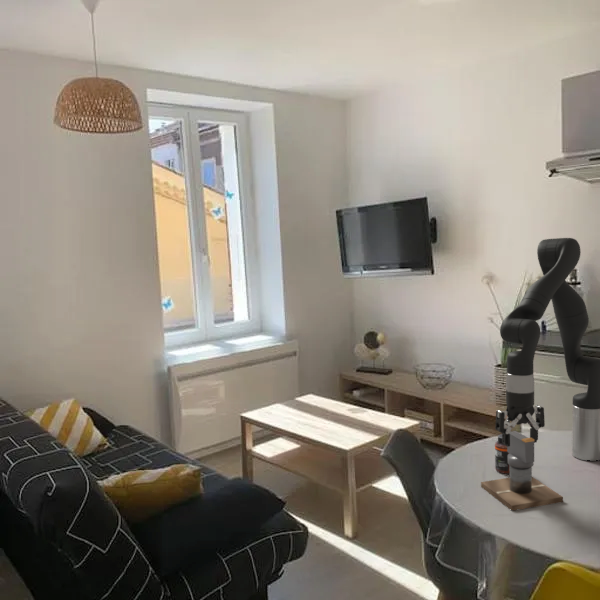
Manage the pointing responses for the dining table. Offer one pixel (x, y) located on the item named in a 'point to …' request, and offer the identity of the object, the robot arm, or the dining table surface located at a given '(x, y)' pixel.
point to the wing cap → (520, 450)
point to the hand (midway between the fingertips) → (520, 443)
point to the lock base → (521, 498)
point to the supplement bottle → (501, 456)
